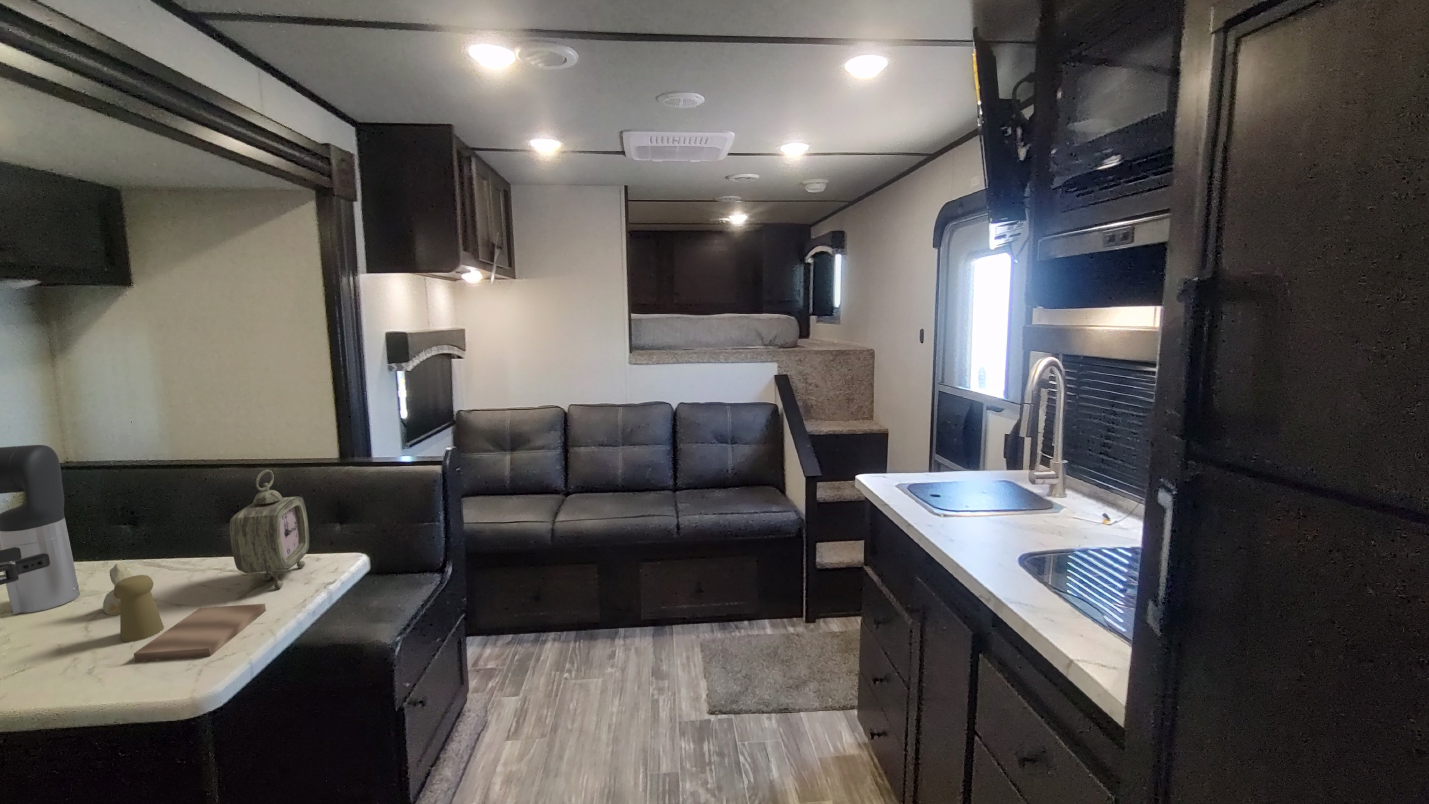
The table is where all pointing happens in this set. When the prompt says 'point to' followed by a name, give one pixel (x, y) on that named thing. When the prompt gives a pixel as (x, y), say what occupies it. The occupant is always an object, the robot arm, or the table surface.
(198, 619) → the walnut board
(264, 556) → the tabletop clock
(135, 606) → the cork
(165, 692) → the table surface
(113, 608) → the chocolate bunny
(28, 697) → the table surface
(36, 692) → the table surface
